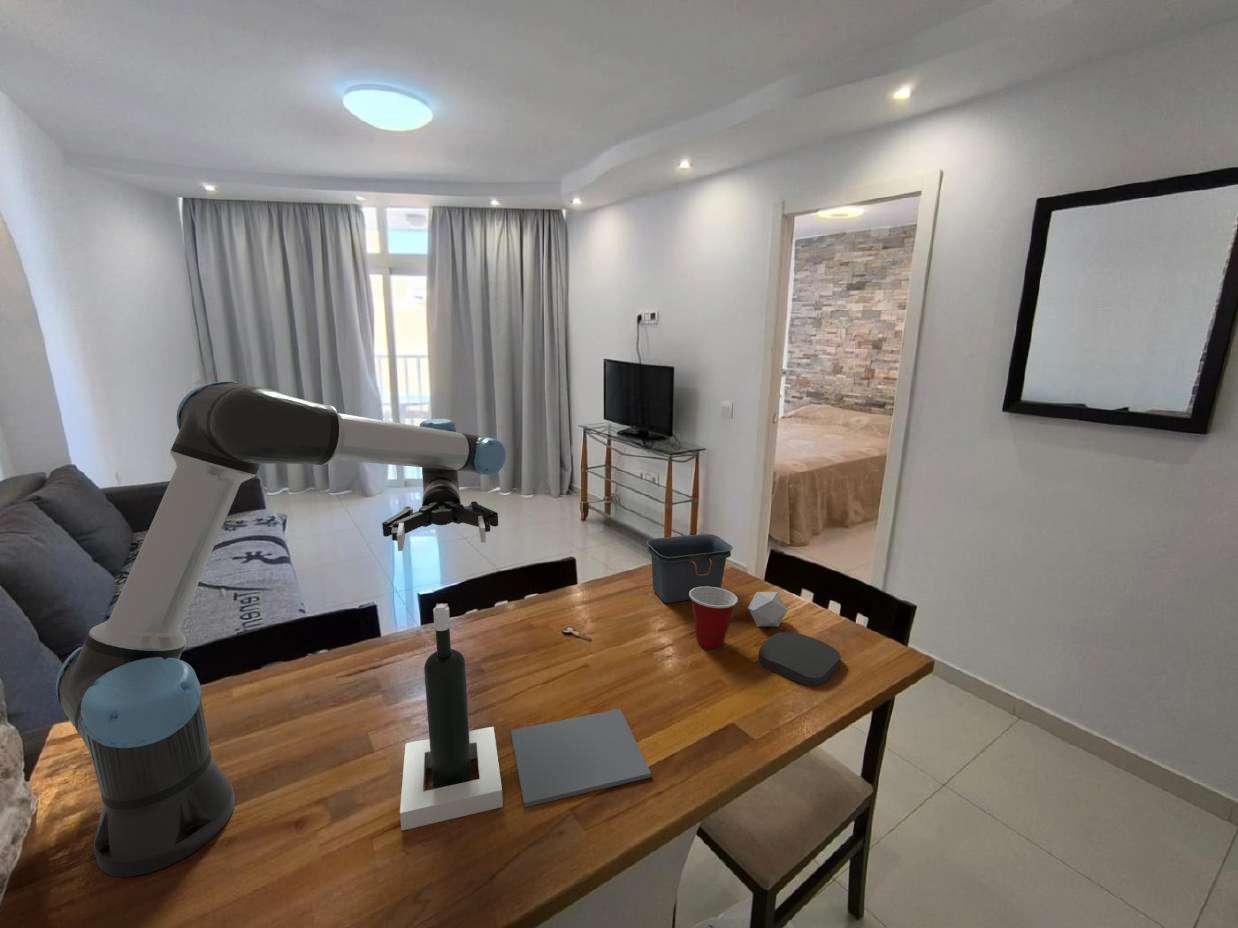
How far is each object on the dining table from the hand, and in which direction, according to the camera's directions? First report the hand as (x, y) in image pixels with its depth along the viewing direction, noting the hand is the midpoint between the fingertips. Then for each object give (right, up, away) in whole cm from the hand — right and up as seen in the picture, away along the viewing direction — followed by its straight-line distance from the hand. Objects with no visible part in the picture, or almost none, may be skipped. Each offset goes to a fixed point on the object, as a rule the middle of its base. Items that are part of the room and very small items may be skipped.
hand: (442, 539), depth 95 cm
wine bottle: (+4, -37, -8) cm, 38 cm away
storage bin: (+49, -23, +55) cm, 77 cm away
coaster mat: (+23, -36, -2) cm, 43 cm away
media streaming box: (+69, -30, +25) cm, 79 cm away
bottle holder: (+4, -37, -8) cm, 38 cm away
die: (+66, -26, +40) cm, 82 cm away
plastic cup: (+51, -28, +32) cm, 66 cm away
